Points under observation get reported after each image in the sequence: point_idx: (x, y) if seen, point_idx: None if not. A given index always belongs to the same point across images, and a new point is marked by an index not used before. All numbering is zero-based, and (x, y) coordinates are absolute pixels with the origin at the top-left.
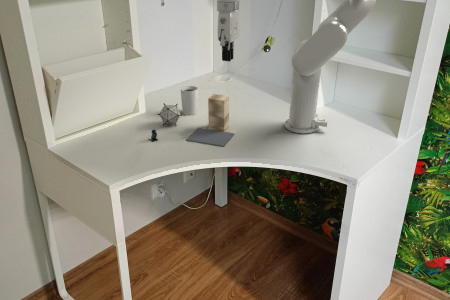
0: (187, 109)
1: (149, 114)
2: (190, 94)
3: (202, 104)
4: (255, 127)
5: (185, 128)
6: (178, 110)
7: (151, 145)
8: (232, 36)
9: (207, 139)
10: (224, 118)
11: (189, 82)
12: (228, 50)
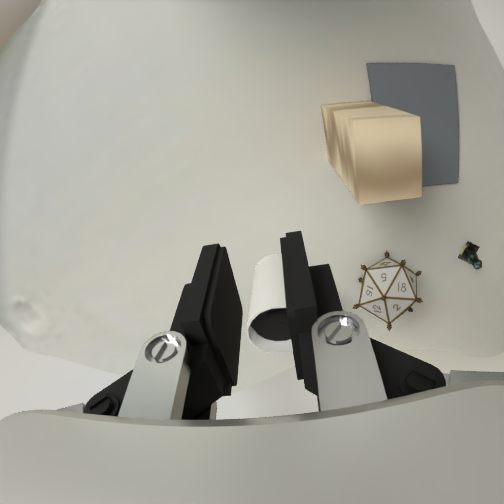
0: None
1: None
2: None
3: None
4: (274, 22)
5: (390, 222)
6: (375, 282)
7: (491, 239)
8: (478, 500)
9: (441, 125)
10: (383, 106)
11: (101, 366)
12: (344, 319)
